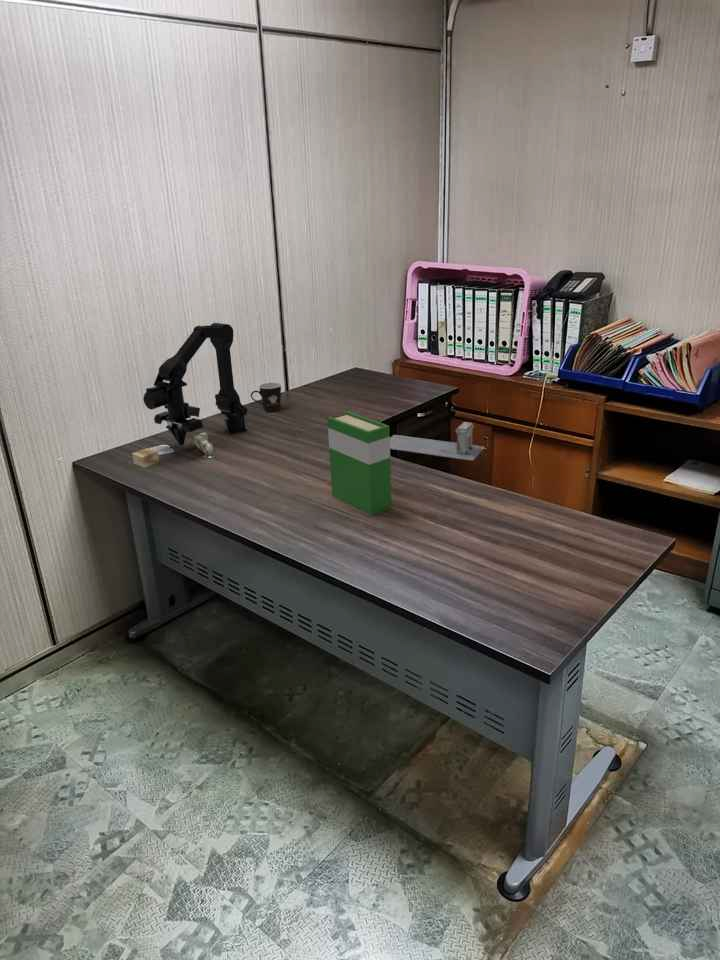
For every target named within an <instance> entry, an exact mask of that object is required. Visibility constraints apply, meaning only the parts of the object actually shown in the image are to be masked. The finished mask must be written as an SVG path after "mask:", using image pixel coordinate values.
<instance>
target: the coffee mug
mask: <svg viewBox="0 0 720 960" xmlns="http://www.w3.org/2000/svg"><path fill="white" fill-rule="evenodd" d="M258 388H259V390H253V391H252V392H251V393H250V397H251V400H253V401H254V402H256V403H258V404H260V405H262V406H263V411H264V412H265V413H276V412H280V411H281V405H282V404H281V401H282V400H281V399H282V397H281V396H282V385H281V383H278V382H265V383H261V384H260V385H259V386H258ZM254 393H258V394H259V395H260V396H261V401H258V400H256V399H255V398H253V394H254Z"/></svg>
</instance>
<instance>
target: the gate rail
mask: <svg viewBox="0 0 720 960" xmlns="http://www.w3.org/2000/svg"><path fill="white" fill-rule="evenodd" d="M193 439H194V440H193V441H194V445H195V446H196V448H198V449H199V450H200V451H201V452H202V453H203V454H204V455H205V454H206V449H205V444H207V443H210V442H209V440H208V441H206V440H205V439H204V438H203V437H202V436H200V435H199V434H196V435H195V434H194V435H193Z"/></svg>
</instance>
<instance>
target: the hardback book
mask: <svg viewBox="0 0 720 960" xmlns="http://www.w3.org/2000/svg"><path fill="white" fill-rule="evenodd" d="M326 421H327V434H328V451H329V467H330V481H331V482H330V483H331V495H332V497H335V498H336V499H338V500H339V501H342V502H344V503H346V504H347V505H350V506H352V507H354V508H356V509H358V510H360V511H362V512H364V513H365V514H367V515H369V516H373V515H376V514H378V513H381V512H383V511H386V510H389V509H391V508H392V479H391V478H392V477H391V475H392V474H391V473H392V472H391V471H392V470H391V449H390V438H391V436H390V425H388V424H385V423H382V422H379V421H376V420H373V419H370V418H369V417H365V416H362V415H359V414H357V413H354V412H351V411H345V414H344V415H342V416H339V417H332V416H327V420H326Z"/></svg>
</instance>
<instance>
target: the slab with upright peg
mask: <svg viewBox="0 0 720 960" xmlns="http://www.w3.org/2000/svg"><path fill="white" fill-rule="evenodd" d="M473 428H475V424H474V423H473V422H466V421H463V422H462V423H460V425H459V426H458V427H457V429H455V433H456V442H454V441H453V442H451V441H445V440H436V439H431V438H429V439H428V438H423V437H414V436H408V435H407V436H406V435H398V434H393V435H392V436H390V450H394V451H403V452H408V453H413V454H420V455H421V454H423V455H430V456H436V457H443V458H451V459H456V460H457V459H458V460H463V461H471V462H473V461H475V459H476V458H477V457H478V456H479V454H481V453H482V451H483V450H484V449H485V448H486V447H485V446H484V445H483V446H482V445H475V444H473Z"/></svg>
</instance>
